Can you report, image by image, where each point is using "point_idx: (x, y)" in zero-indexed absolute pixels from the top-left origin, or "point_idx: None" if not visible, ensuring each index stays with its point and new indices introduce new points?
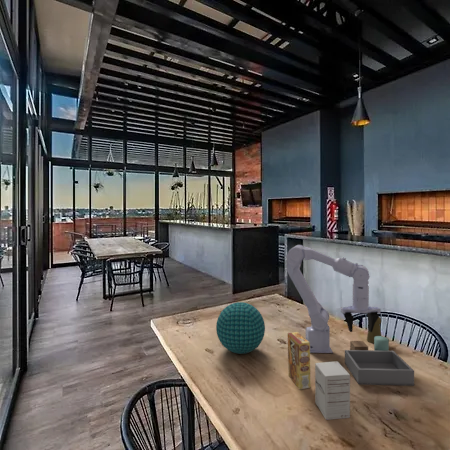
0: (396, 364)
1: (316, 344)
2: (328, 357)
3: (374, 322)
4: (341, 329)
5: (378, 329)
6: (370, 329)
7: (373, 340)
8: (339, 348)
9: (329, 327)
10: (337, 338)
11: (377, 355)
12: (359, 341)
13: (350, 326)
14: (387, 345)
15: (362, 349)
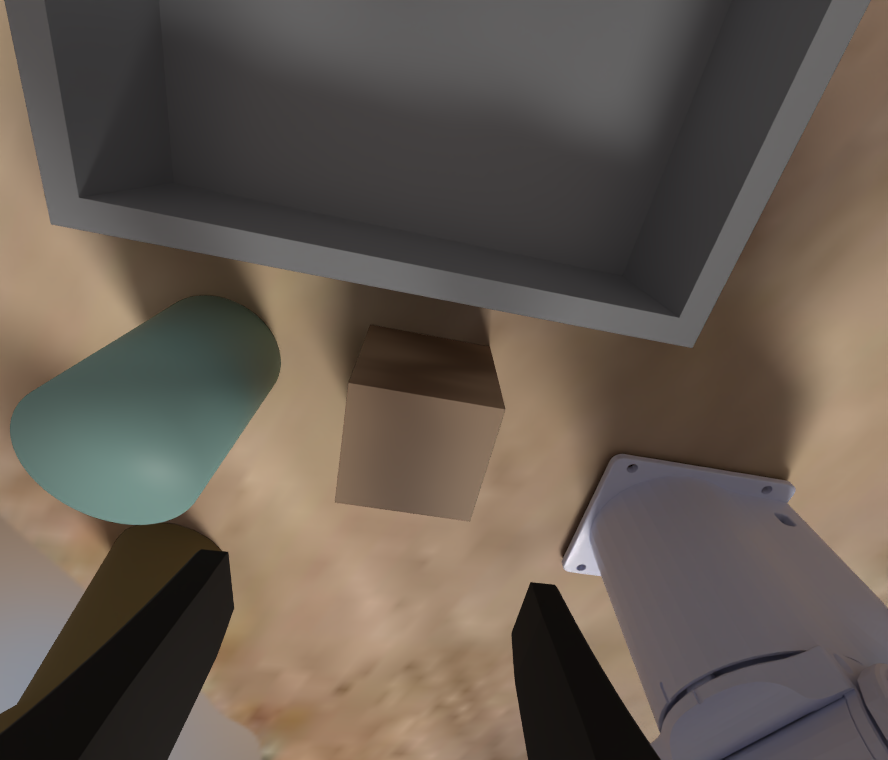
0: (140, 65)
1: (764, 533)
2: (694, 402)
3: (6, 751)
4: (338, 696)
5: (70, 647)
6: (207, 591)
7: (183, 554)
8: (507, 506)
9: (692, 707)
10: (433, 616)
11: (310, 229)
12: (380, 498)
13: (606, 683)
14: (88, 358)
15: (417, 377)
